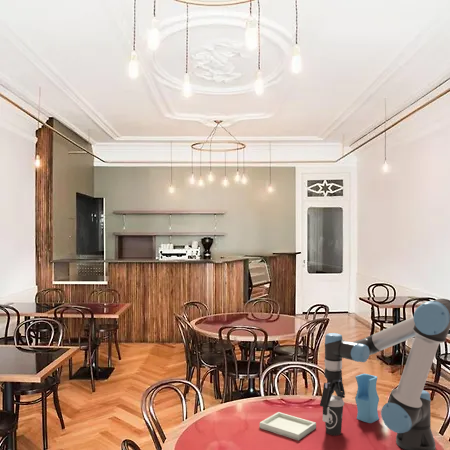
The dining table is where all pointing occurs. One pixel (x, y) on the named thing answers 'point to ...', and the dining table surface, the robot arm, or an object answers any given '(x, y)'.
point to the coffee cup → (335, 416)
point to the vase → (367, 398)
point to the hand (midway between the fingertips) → (332, 416)
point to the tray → (288, 425)
